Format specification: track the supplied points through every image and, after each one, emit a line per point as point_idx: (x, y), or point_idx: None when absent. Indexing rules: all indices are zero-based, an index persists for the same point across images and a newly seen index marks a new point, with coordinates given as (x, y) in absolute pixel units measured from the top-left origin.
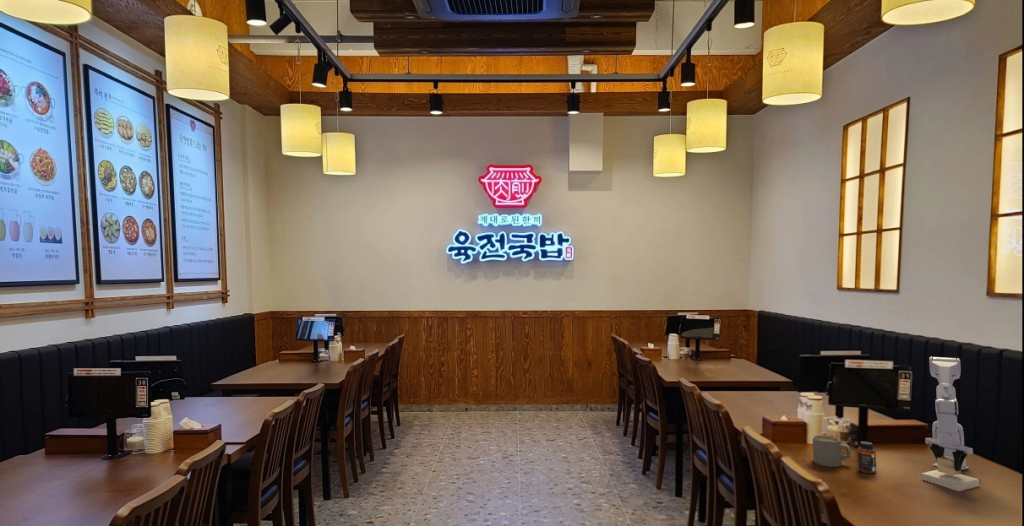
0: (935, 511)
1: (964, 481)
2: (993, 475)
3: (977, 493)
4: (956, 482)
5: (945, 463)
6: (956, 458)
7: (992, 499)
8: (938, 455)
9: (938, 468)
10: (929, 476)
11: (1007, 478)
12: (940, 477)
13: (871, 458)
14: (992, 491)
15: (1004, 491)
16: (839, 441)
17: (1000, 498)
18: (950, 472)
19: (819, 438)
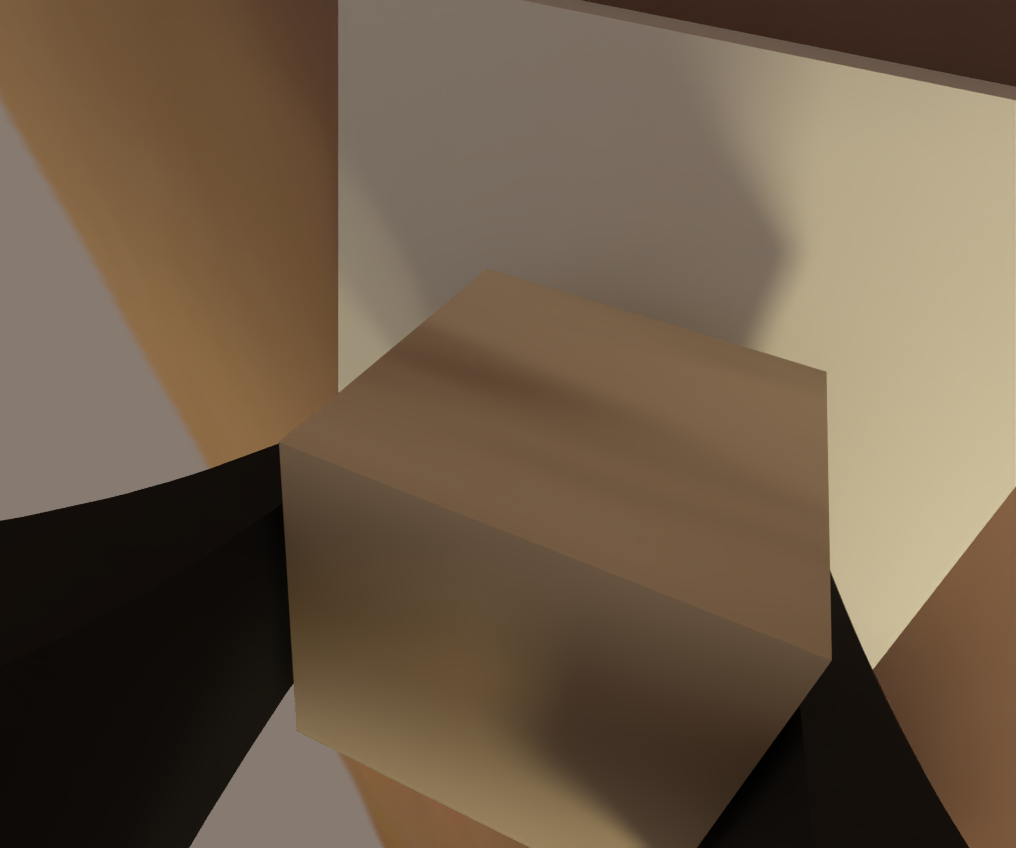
0: None
1: (368, 274)
2: (454, 821)
3: (256, 137)
4: (408, 68)
5: (550, 449)
6: (66, 542)
7: (66, 21)
8: (787, 814)
9: (798, 399)
10: (1013, 97)
11: (373, 792)
12: (737, 159)
13: None
14: (242, 380)
15: (209, 463)
16: None
17: (79, 170)
18: (512, 306)
19: None
